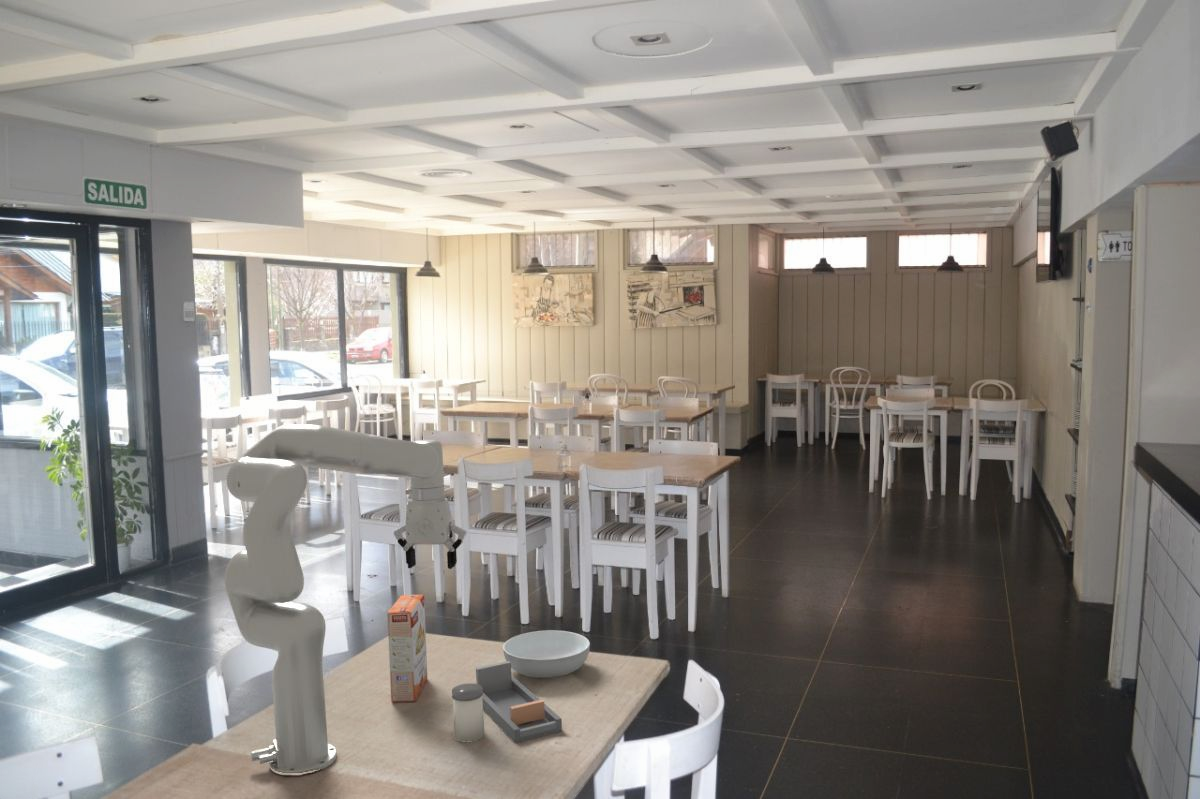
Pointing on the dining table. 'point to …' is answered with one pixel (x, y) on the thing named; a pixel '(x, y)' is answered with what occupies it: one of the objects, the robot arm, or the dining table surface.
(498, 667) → the lane
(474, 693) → the jar
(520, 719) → the pusher
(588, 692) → the dining table surface
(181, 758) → the dining table surface
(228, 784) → the dining table surface
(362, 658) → the dining table surface
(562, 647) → the serving bowl
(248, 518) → the robot arm
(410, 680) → the cracker box
